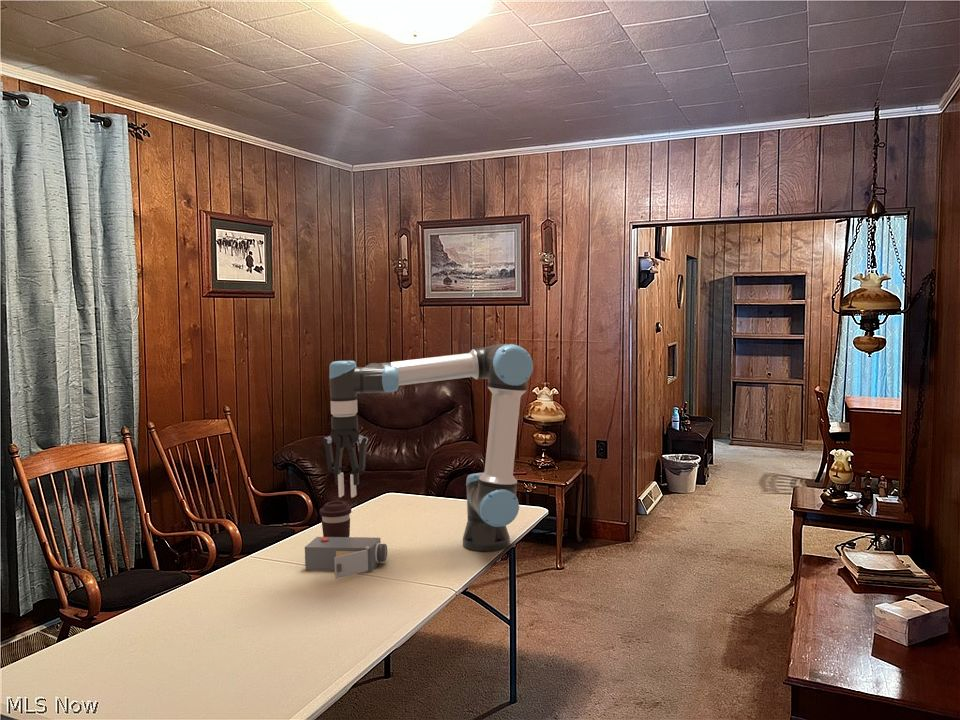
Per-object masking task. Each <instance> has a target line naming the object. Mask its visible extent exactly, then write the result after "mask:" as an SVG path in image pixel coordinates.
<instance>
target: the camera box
mask: <svg viewBox="0 0 960 720" xmlns="http://www.w3.org/2000/svg"><path fill="white" fill-rule="evenodd" d="M381 542H382V541H381V537H370V536H369V537H365V536H364V537H361V536H360V537H357V536H355V537H353V536H349V537H323V536H316V537H315V538H313V539H312V540H311V541H310V542H309V543H307V545H305V546H304V562H305V571H307V572H308V571H310V572H311V571H314V572H317V571H318V572H335V560H334V557H337V556H341V555H346V554H350V553H354V552H358V551H362V550H368V571H365V572H364V573H372V572H373V571H374V569H376V568H377V566H379V564H380V563H385V562H387V558H388V545H387V544H386V543H381Z"/></svg>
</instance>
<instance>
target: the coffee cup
mask: <svg viewBox="0 0 960 720" xmlns="http://www.w3.org/2000/svg"><path fill="white" fill-rule="evenodd" d="M351 513H352V506H351V505H348V504H347V502H346V501H342V500H341V501H340V500H334V501H329V502H328V501H327V502H326V503H325V504H324V505H323V507H321V508H320V509H319V515H320V517H321V527H322V529H321V530H322V537H351V536H350V532H351V531H350V530H351V517H350V515H351Z"/></svg>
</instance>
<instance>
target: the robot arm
mask: <svg viewBox="0 0 960 720" xmlns="http://www.w3.org/2000/svg"><path fill="white" fill-rule="evenodd" d="M533 370H534V363H533V358H532V356H531V355H530V352H528V351H527V350H526V349H525V348H523V347H522V346H520V345H518V344H513V343H510V344H508V343H497V344H493V345H490V346H485V347H479V348H473V349H471V350H470V351H469V352H467V353H458V354H449V355H440V356H432V357H430V356H429V357H423V358H414V359H407V360H406V359H405V360H397V361H391V362H380V363H377V362H373V363H369V364H367V365H366V366H364V367H362V366H360V367H359V366H357V364H356V361H355V360H337V361H336V360H335V361H332V362H331V363H330V364H329V373H328V374H329V376H328V377H329V391H330V392H329V395H330V414H331V415H332V416H331V417H330V419H331V420H330V423H331V424H330V425H331V432H330V434H329V435H328V436H326V437H323V438H322V439H321V441H322V444H323V447H324V450H325V459H326V466H327V467H326V468H327V471H328V473H332V474H334V484H335V486H338V487H337V488H338V498H342V497H343V496H345V483H344V482H345V480H344V479H345V478H344V477H345V476H344V472H342V470H341V469H342V464H343V461H342V460H343V454H344V448H347V451H348V455H349V460H350V466H351V470H352V472H351V473H350V475H349V476H350V478H349V481H350V482H349V483H350V498H354V497H356V496H357V486H358V485H359V484H360V473H362V472H364V471H365V469H366V459H367V445H368V443H369V439H370V438H369V437H368V436H364V435H361V433H360V431H359V417H358V415H357V413H358V394H372V393H373V394H374V393H393V392H397V391H398V389H399V387H400V386H406V385H407V386H408V385H415V384H422V383H430V382H439V381H440V382H441V381H447V380H448V381H449V380H457V379H464V378H465V379H466V378H473V379H475V380H482V379H483V380H486V379H487V380H488V384H487V389H488V390H489V391H490V392H491V402H490V412H489V413H490V414H489V422H488V435H487V443H486V445H487V446H486V453H485V461H484V462H485V464H484V471H483V472H477V473H471V474H468V475H467V477H466V481H465V482H466V483H465V486H466V506H467V507H466V509H467V510H466V512H467V513H466V514H467V520H466V521H467V522H466V526H465V528H464V529H465V530H464V532H463V537H462V546H463V548H464V549H467V550H469V551H470V550H471V551H475V552H495V551H499V550H504V549H506V548H507V547H509V546H510V545H511V537H510V534H509V530H508V527H507V526H508V525H510V524H512V522H514V521H515V519H516V518H517V517H518V514H519V511H520V504H519V503H520V502H519V499H518V496H517V487H518V480H517V479H516V477H515V475H514V468H515V467H514V466H515V455H516V448H517V447H516V446H517V435H518V426H519V425H518V424H519V417H520V408H521V407H520V405H521V399H522V398H521V397H522V396H523V395H524V394H525V393H526V392H527V386H528V380H529V379H530V377H531V376H532V374H533ZM357 441H359V444H360V445H359V455H357V451H356V443H357ZM333 442H334V444H335V445H336V446H335V458H334V451H333V446H332V443H333ZM357 456H358V457H357Z"/></svg>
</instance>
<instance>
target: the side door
mask: <svg viewBox="0 0 960 720" xmlns="http://www.w3.org/2000/svg"><path fill="white" fill-rule="evenodd" d="M334 560H335V571H334V578H335V580H337V579H342V578H346V577H350V576H352V575H356V574H360V573H366V572H365V571H368V550H362V551H358V552H354V553H350V554H346V555H341V556H337V557H334Z"/></svg>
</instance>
